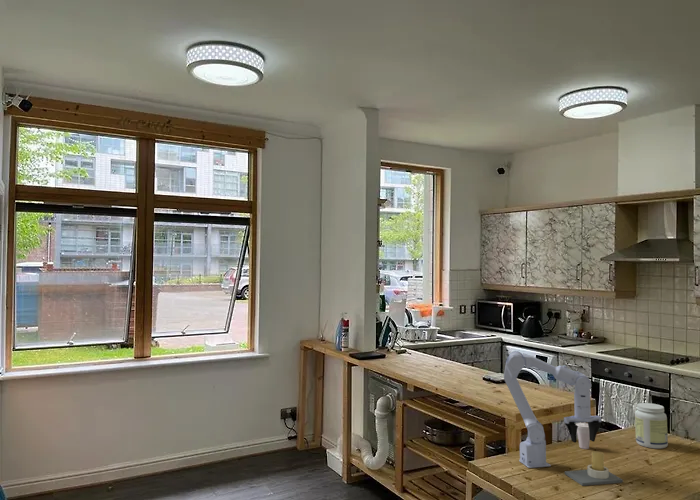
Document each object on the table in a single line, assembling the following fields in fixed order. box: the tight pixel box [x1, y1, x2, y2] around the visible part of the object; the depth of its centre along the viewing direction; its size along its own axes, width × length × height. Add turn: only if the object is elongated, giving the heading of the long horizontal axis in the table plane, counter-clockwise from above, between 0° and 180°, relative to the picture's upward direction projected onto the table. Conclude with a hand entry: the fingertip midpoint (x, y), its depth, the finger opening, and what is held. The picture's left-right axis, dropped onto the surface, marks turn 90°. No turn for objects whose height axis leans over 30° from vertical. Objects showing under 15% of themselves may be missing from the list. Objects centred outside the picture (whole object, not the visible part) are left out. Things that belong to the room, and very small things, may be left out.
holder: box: [564, 464, 624, 487], centre depth 190 cm, size 16×11×4 cm
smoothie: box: [575, 422, 591, 450], centre depth 224 cm, size 6×6×14 cm
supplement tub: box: [634, 402, 669, 449], centre depth 227 cm, size 12×12×17 cm
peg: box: [590, 450, 605, 471], centre depth 191 cm, size 4×4×8 cm
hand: (583, 441), depth 200 cm, fingers open, 7 cm apart
